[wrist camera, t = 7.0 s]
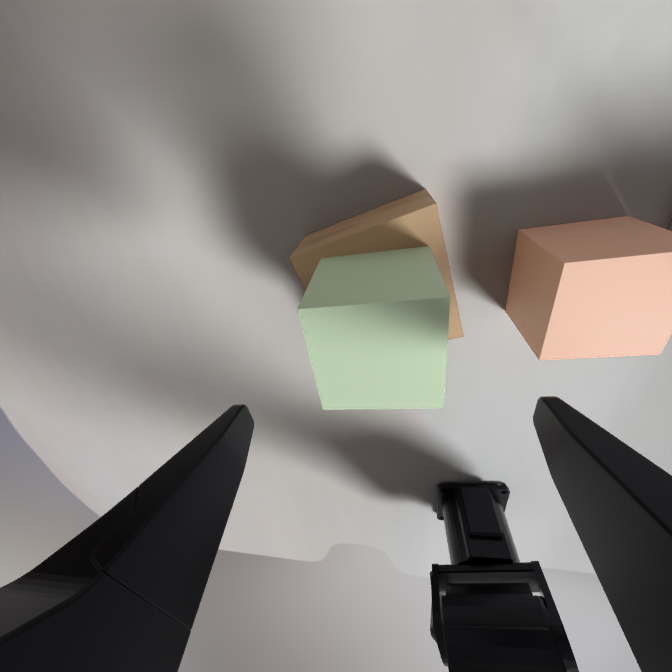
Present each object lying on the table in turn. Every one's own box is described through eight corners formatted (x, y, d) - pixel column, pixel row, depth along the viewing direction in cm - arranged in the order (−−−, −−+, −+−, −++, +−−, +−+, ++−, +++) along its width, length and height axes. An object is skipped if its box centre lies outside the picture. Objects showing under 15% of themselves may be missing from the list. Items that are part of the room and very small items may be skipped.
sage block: (427, 337, 16) (443, 408, 12) (336, 342, 17) (323, 409, 13) (429, 246, 13) (450, 297, 9) (320, 258, 14) (297, 309, 10)
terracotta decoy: (596, 302, 18) (660, 354, 14) (504, 310, 19) (539, 360, 15) (626, 215, 15) (718, 247, 11) (517, 229, 16) (565, 263, 12)
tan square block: (449, 301, 19) (463, 336, 16) (347, 328, 21) (341, 364, 18) (425, 187, 16) (436, 203, 12) (305, 234, 18) (289, 257, 15)
